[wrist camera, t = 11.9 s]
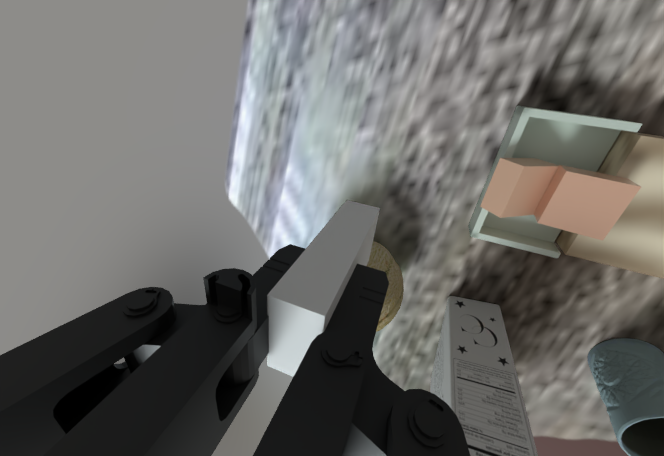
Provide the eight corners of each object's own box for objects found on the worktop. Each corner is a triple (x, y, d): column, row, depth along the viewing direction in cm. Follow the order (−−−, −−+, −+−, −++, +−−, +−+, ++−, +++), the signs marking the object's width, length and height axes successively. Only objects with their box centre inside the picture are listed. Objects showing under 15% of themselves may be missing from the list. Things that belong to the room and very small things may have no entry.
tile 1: (559, 164, 30) (566, 171, 28) (627, 178, 28) (641, 186, 26) (533, 213, 33) (537, 222, 31) (593, 229, 31) (602, 240, 29)
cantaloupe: (418, 235, 43) (408, 296, 31) (397, 304, 50) (382, 376, 38) (329, 212, 47) (288, 259, 34) (322, 280, 54) (285, 339, 42)
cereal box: (472, 390, 53) (490, 586, 33) (430, 378, 56) (423, 554, 35) (500, 304, 44) (552, 506, 23) (448, 294, 46) (453, 469, 25)
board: (619, 129, 30) (641, 135, 27) (764, 151, 27) (810, 160, 24) (554, 239, 37) (565, 254, 34) (664, 265, 34) (688, 284, 31)
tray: (517, 105, 32) (524, 107, 29) (622, 120, 30) (642, 123, 27) (468, 225, 40) (470, 236, 37) (548, 244, 37) (557, 258, 35)
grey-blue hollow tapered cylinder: (673, 383, 40) (750, 484, 30) (584, 383, 45) (625, 470, 35) (667, 330, 37) (749, 421, 27) (572, 336, 42) (613, 415, 32)
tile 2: (561, 166, 31) (536, 158, 33) (524, 166, 28) (500, 157, 31) (535, 214, 34) (514, 203, 36) (500, 217, 31) (479, 206, 34)
